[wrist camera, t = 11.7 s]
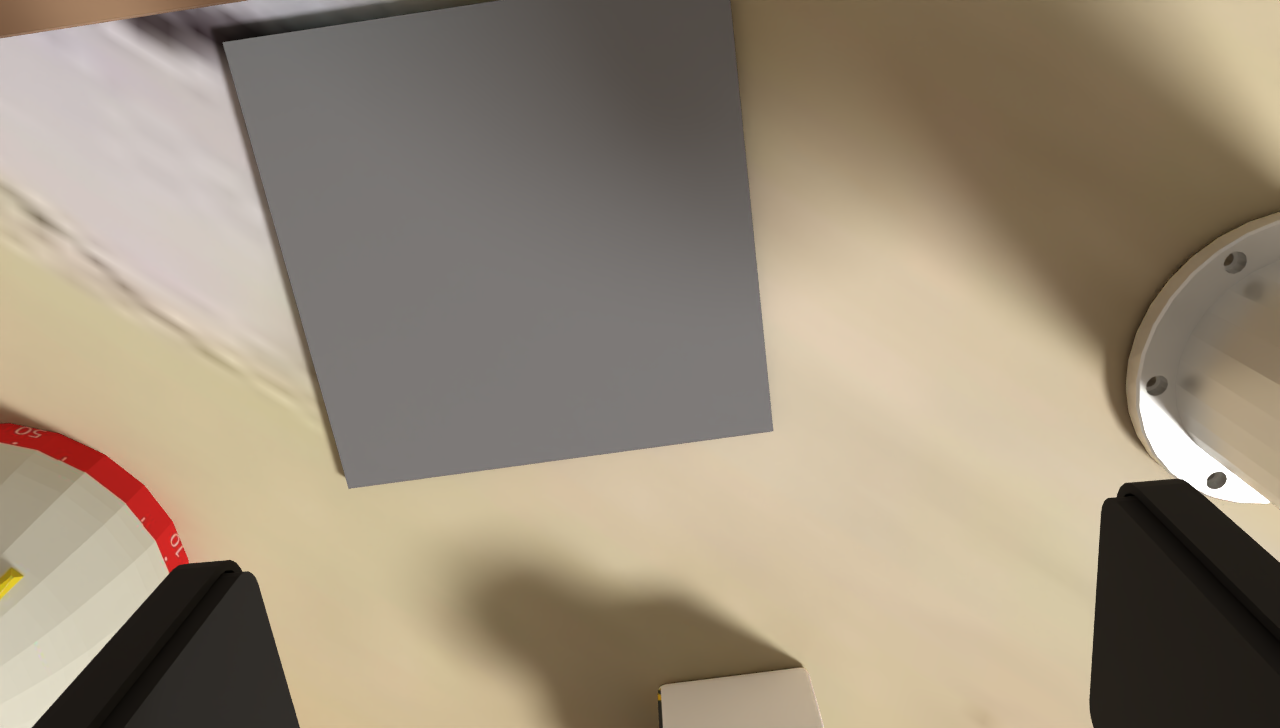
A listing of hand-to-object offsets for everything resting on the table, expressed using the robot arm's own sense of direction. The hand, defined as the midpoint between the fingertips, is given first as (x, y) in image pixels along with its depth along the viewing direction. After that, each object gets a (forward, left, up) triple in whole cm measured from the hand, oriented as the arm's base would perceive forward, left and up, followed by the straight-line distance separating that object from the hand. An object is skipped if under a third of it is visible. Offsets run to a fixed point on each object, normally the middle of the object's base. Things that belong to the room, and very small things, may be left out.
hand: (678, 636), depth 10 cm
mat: (+5, +2, -28) cm, 28 cm away
